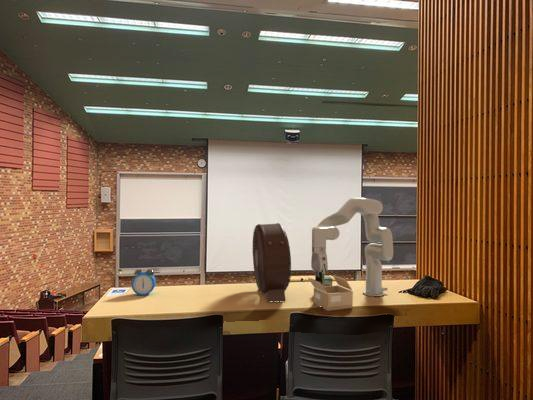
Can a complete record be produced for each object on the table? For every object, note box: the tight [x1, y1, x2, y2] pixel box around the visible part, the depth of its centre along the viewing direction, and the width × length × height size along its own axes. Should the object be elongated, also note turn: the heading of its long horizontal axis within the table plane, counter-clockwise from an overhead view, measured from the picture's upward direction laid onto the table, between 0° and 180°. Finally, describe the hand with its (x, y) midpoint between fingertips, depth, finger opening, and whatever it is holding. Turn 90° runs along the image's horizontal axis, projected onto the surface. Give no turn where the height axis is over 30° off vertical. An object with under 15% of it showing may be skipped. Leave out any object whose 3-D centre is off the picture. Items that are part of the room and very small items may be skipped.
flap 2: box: [332, 274, 353, 291], centre depth 195 cm, size 7×13×1 cm
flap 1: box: [307, 277, 327, 293], centre depth 188 cm, size 7×13×1 cm
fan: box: [252, 222, 292, 303], centre depth 213 cm, size 41×18×44 cm, turn 11°
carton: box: [313, 284, 354, 312], centre depth 192 cm, size 16×15×9 cm
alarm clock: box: [130, 268, 157, 296], centre depth 208 cm, size 13×6×15 cm, turn 98°
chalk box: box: [314, 275, 333, 287], centre depth 212 cm, size 9×9×15 cm
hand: (318, 283), depth 189 cm, fingers closed
